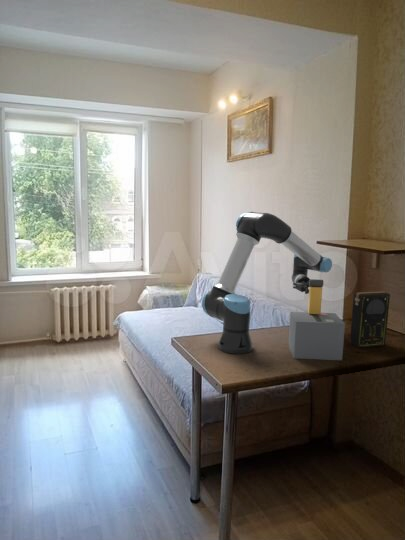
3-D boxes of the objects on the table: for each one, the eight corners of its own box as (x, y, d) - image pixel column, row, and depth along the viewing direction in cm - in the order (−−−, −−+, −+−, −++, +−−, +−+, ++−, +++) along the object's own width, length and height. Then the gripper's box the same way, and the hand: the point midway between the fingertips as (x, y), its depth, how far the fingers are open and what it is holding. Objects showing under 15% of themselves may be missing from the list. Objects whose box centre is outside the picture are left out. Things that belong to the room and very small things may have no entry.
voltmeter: (358, 348, 191) (362, 295, 187) (347, 342, 200) (351, 290, 196) (387, 346, 196) (392, 293, 191) (375, 340, 204) (379, 289, 200)
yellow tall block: (308, 313, 186) (310, 280, 184) (307, 311, 190) (309, 278, 187) (321, 314, 186) (323, 280, 184) (319, 312, 189) (321, 279, 187)
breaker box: (293, 358, 178) (296, 321, 176) (288, 345, 194) (290, 311, 191) (342, 360, 177) (345, 323, 175) (332, 347, 193) (335, 312, 190)
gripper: (315, 290, 217) (326, 301, 194) (289, 289, 218) (297, 300, 195) (316, 275, 216) (327, 285, 193) (290, 275, 216) (298, 284, 193)
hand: (312, 293), depth 194 cm, fingers closed
